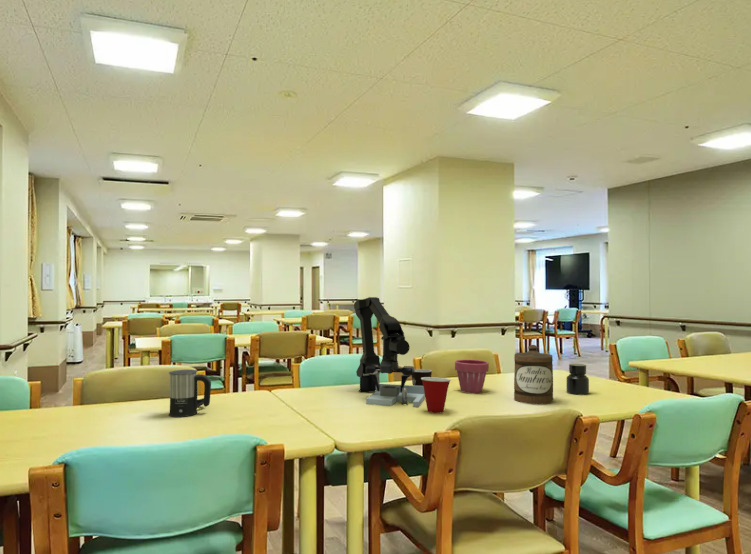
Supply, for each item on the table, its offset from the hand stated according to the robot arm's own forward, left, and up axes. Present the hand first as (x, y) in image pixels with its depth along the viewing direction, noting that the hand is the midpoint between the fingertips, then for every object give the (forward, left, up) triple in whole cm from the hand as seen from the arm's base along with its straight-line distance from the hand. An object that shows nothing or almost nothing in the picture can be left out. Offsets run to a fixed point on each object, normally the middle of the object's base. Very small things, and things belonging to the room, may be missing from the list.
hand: (389, 391), depth 210 cm
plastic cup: (+20, -14, -3) cm, 25 cm away
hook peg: (+7, -6, -3) cm, 10 cm away
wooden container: (+55, +15, -4) cm, 57 cm away
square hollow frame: (0, 0, -1) cm, 1 cm away
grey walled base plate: (+3, -2, -3) cm, 5 cm away
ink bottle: (+74, +36, -3) cm, 82 cm away
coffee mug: (+10, +15, -3) cm, 18 cm away
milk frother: (-64, -39, -4) cm, 75 cm away
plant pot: (+30, +27, -3) cm, 41 cm away
